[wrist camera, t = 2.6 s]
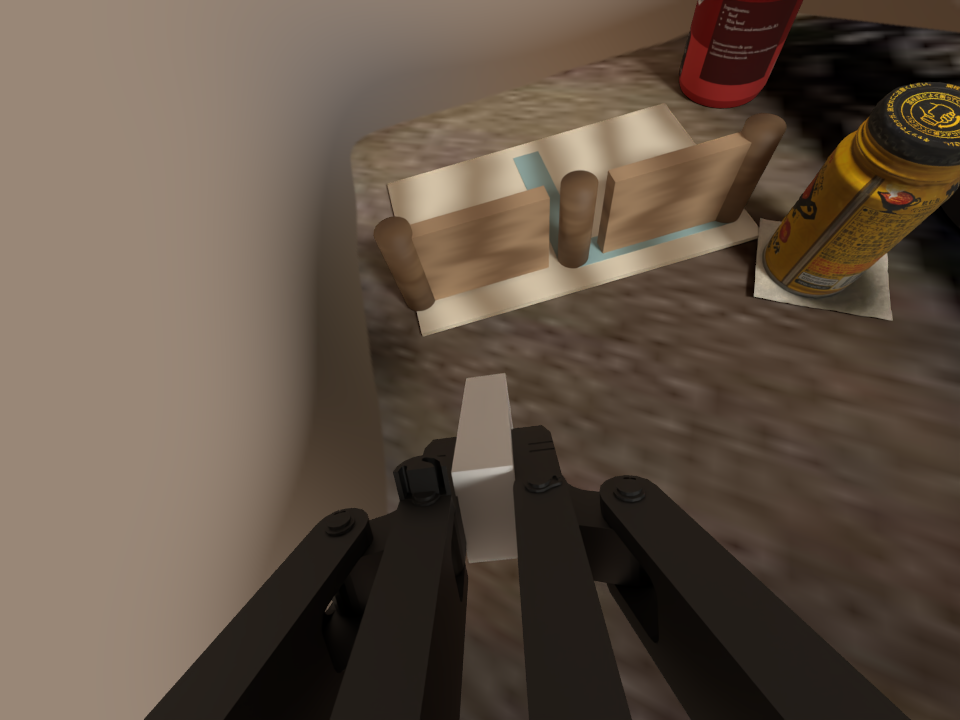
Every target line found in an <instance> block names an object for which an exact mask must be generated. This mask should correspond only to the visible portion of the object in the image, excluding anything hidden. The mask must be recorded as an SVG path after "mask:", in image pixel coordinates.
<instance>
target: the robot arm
mask: <svg viewBox="0 0 960 720" xmlns="http://www.w3.org/2000/svg"><path fill="white" fill-rule="evenodd" d="M941 207H942V208H943V210H944V211H945V213H946V214H947V216H948V217H949V218H950V219H951V220H952V221H953V222H954V223H955V224H956V225H957V226H958V227H959V228H960V184H959V187H958V189H957V190H956V191H955V192H954V194H953V195H952V196H951V197H950V198H949V199H948V200H947V201H945V202H944V203H943V204H942V205H941ZM393 474H394V478H395V482H396V486H397V490H398V495H399V499H400V502H399V505H398V508H397V510H396V511H394V512H392V513H389V514H387V515H384V516H381V517H378V518H375V519H372V520H369V518H368V514H367V513H366V512H365V511H364V510H362V509H357V508H349V509H342V510H340V511H339V510H338V511H336V512H334V513H332V514H330V515H328V516H326V517H325V518H324V519H322V520H321V521H320V522H319V523H318V524H317V525H316V526H315V527H314V528H313V529H312V530H311V531H310V533H309V534H308V535H307V536H306V537H305V538H304V539H303V541H302V542H301V543H300V544H299V545H298V546H297V547H296V548H295V549H294V551H293V552H292V553H291V554H290V555H289V556H288V558H287V559H286V560H285V561H284V562H283V563H282V564H281V565H280V566H279V568H278V569H277V570H276V571H275V572H274V573H273V574H272V575H271V577H270V578H269V579H268V580H267V581H266V582H265V583H264V584H263V586H262V587H261V588H260V589H259V590H258V591H257V592H256V594H255V595H254V596H253V597H252V598H251V599H250V600H249V601H248V602H247V604H246V605H245V606H244V607H243V608H242V609H241V610H240V612H239V613H238V614H237V615H236V616H235V617H234V618H233V619H232V621H231V622H230V623H229V624H228V625H227V626H226V627H225V628H224V630H223V631H222V632H221V633H220V634H219V635H218V636H217V638H216V639H215V640H214V641H213V642H212V643H211V644H210V645H209V647H208V648H207V649H206V650H205V651H204V652H203V653H202V654H201V656H200V657H199V658H198V659H197V660H196V661H195V662H194V663H193V665H192V666H191V667H190V668H189V669H188V670H187V671H186V672H185V674H184V675H183V676H182V677H181V678H180V679H179V680H178V682H177V683H176V684H175V685H174V686H173V687H172V688H171V689H170V691H169V692H168V693H167V694H166V695H165V696H164V697H163V698H162V700H161V701H160V702H159V703H158V704H157V705H156V706H155V707H154V709H153V710H152V711H151V712H150V713H149V714H148V715H147V716H146V718H145V719H144V720H459V718H460V702H461V686H462V670H463V654H464V638H465V623H466V607H467V591H468V575H467V570H466V565H465V557H466V551H467V556H468V561H469V563H474V562H484V561H494V560H504V559H513V558H518V568H519V582H520V596H521V610H522V625H523V639H524V653H525V667H526V682H527V696H528V710H529V720H632V719H631V715H630V711H629V708H628V704H627V700H626V697H625V693H624V689H623V686H622V682H621V678H620V675H619V671H618V667H617V664H616V660H615V656H614V653H613V649H612V646H611V642H610V638H609V635H608V631H607V627H606V624H605V620H604V616H603V613H602V609H601V605H600V602H599V598H598V594H597V591H596V587H595V583H594V581H599V582H605V583H607V586H608V588H609V591H610V593H611V594H612V596H613V598H614V599H615V601H616V602H617V604H618V605H619V607H620V609H621V610H622V612H623V613H624V615H625V616H626V618H627V620H628V621H629V623H630V624H631V626H632V628H633V629H634V631H635V632H636V634H637V635H638V637H639V639H640V640H641V642H642V643H643V645H644V646H645V648H646V650H647V651H648V653H649V654H650V656H651V657H652V659H653V661H654V662H655V664H656V665H657V667H658V669H659V670H660V672H661V673H662V675H663V676H664V678H665V680H666V681H667V683H668V684H669V686H670V687H671V689H672V691H673V692H674V694H675V695H676V697H677V698H678V700H679V702H680V703H681V705H682V706H683V708H684V710H685V711H686V713H687V714H688V716H689V717H690V719H691V720H911V719H909V718H908V717H907V716H906V715H905V714H904V713H903V712H902V711H901V710H900V709H899V708H898V707H896V706H895V705H894V704H893V703H892V702H891V701H890V700H889V699H888V698H887V697H886V696H884V695H883V694H882V693H881V692H880V691H879V690H878V689H877V688H876V687H875V686H874V685H873V684H871V683H870V682H869V681H868V680H867V679H866V678H865V677H864V676H863V675H862V674H861V673H860V672H858V671H857V670H856V669H855V668H854V667H853V666H852V665H851V664H850V663H849V662H848V661H846V660H845V659H844V658H843V657H842V656H841V655H840V654H839V653H838V652H837V651H836V650H835V649H833V648H832V647H831V646H830V645H829V644H828V643H827V642H826V641H825V640H824V639H823V638H822V637H820V636H819V635H818V634H817V633H816V632H815V631H814V630H813V629H812V628H811V627H810V626H808V625H807V624H806V623H805V622H804V621H803V620H802V619H801V618H800V617H799V616H798V615H797V614H795V613H794V612H793V611H792V610H791V609H790V608H789V607H788V606H787V605H786V604H785V603H784V602H782V601H781V600H780V599H779V598H778V597H777V596H776V595H775V594H774V593H773V592H772V591H771V590H769V589H768V588H767V587H766V586H765V585H764V584H763V583H762V582H761V581H760V580H759V579H757V578H756V577H755V576H754V575H753V574H752V573H751V572H750V571H749V570H748V569H747V568H746V567H744V566H743V565H742V564H741V563H740V562H739V561H738V560H737V559H736V558H735V557H734V556H733V555H731V554H730V553H729V552H728V551H727V550H726V549H725V548H724V547H723V546H722V545H721V544H719V543H718V542H717V541H716V540H715V539H714V538H713V537H712V536H711V535H710V534H709V533H708V532H706V531H705V530H704V529H703V528H702V527H701V526H700V525H699V524H698V523H697V522H696V521H695V520H693V519H692V518H691V517H690V516H689V515H688V514H687V513H686V512H685V511H684V510H683V509H681V508H680V507H679V506H678V505H677V504H676V503H675V502H674V501H673V500H672V499H671V498H670V497H668V496H667V495H666V494H665V493H664V492H663V491H662V490H661V489H660V488H659V487H658V486H657V485H655V484H654V483H652V482H651V481H649V480H648V479H644V478H641V477H638V476H629V475H624V476H617V477H613V478H611V479H608V480H606V481H605V482H604V483H603V484H602V485H601V487H600V491H599V492H595V491H587V490H581V489H578V488H575V487H573V486H571V485H570V484H568V483H567V481H566V480H565V478H564V477H563V475H562V474H561V470H560V466H559V462H558V459H557V455H556V451H555V447H554V444H553V440H552V436H551V433H550V431H549V430H547V429H546V428H545V427H543V426H542V425H540V426H531V427H523V428H515V429H513V425H512V418H511V411H510V404H509V397H508V390H507V383H506V375H505V373H503V374H495V375H488V376H480V377H473V378H466V383H465V390H464V396H463V402H462V408H461V415H460V421H459V427H458V433H457V437H452V438H444V439H436V440H433V441H432V442H431V443H430V444H429V445H428V446H427V447H426V448H425V450H424V453H423V455H422V456H417V457H413V458H411V459H408V460H406V461H404V462H402V463H401V464H400V465H398V466H397V467H396V469H395V470H394V471H393ZM331 600H332V601H333V603H332V604H331V606H330V607H329V609H328V610H327V611H326V612H325V610H326V608H327V606H328V604H329V603H330V601H331Z"/></svg>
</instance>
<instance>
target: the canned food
mask: <svg viewBox="0 0 960 720" xmlns="http://www.w3.org/2000/svg"><path fill="white" fill-rule="evenodd" d="M802 2H803V0H698V1H697V5H696V9H695V13H694V17H693V20H692V24H691V28H690V32H689V36H688V40H687V43H686V47H685V51H684V55H683V59H682V63H681V67H680V71H679V83H680V88H681V90H682V92H683V93H684V94H685V95H686V96H687V97H688V98H690V99H691V100H692V101H694V102H696V103H698V104H701V105H704V106H707V107H712V108H731V107H737V106H740V105H743V104H746V103H747V102H749V101H751V100H752V99H754V98H755V97H756V96H757V95H758V93H759V92H760V91H761V90H762V88H763V87H764V86H765V85H766V82H767V80H768V78H769V76H770V73H771V71H772V69H773V67H774V64H775V62H776V60H777V58H778V56H779V53H780V51H781V49H782V47H783V44H784V42H785V40H786V38H787V35H788V33H789V31H790V29H791V27H792V24H793V22H794V20H795V18H796V15H797V13H798V11H799V9H800V6H801V4H802Z"/></svg>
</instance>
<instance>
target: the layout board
mask: <svg viewBox="0 0 960 720" xmlns="http://www.w3.org/2000/svg"><path fill="white" fill-rule="evenodd" d="M693 145H696V144H695V143H694V141H693V140H692V139H691V137H690V136H689V135H688V133H687V132H686V131H685V129H684V128H683V127H682V125H681V124H680V123H679V121H678V120H677V119H676V117H675V116H674V115H673V114H672V112H671V111H670V110H669V108H668V107H667V106H666V104H665V103H663V104H660V105H656V106H653V107H649V108H646V109H643V110H639V111H636V112H632V113H629V114H625V115H622V116H619V117H615V118H612V119H608V120H605V121H601V122H598V123H595V124H591V125H588V126H584V127H581V128H577V129H574V130H571V131H567V132H564V133H560V134H557V135H553V136H550V137H547V138H543V139H540V140H536V141H533V142H529V143H526V144H523V145H519V146H516V147H512V148H509V149H505V150H502V151H498V152H495V153H492V154H488V155H485V156H481V157H478V158H474V159H471V160H468V161H464V162H461V163H457V164H454V165H450V166H447V167H444V168H440V169H437V170H433V171H430V172H426V173H423V174H420V175H416V176H413V177H409V178H406V179H402V180H399V181H396V182H392V183H389V184H387V185H388V190H389V194H390V198H391V203H392V207H393V211H394V216H397V217H402V218H404V219H406V220H407V221H408V222H409V224H414V223H417V222H421V221H424V220H427V219H431V218H434V217H438V216H441V215H445V214H448V213H451V212H455V211H458V210H462V209H465V208H468V207H472V206H475V205H479V204H482V203H486V202H489V201H492V200H496V199H499V198H503V197H506V196H510V195H513V194H516V193H520V192H523V191H527V190H530V189H534V188H537V187H540V186H544V187H545V189H546V191H547V193H548V196H549V198H550V215H549V267H548V268H545V269H542V270H538V271H535V272H531V273H528V274H524V275H521V276H518V277H514V278H511V279H507V280H504V281H501V282H497V283H494V284H490V285H487V286H483V287H480V288H477V289H473V290H470V291H466V292H463V293H460V294H456V295H453V296H449V297H446V298H442V299H439V300H436V301H435V302H434V304H433V305H432V306H431V307H430V308H428V309H427V310H424V311H417V315H418V319H419V324H420V328H421V332H422V335H423V336H427V335H430V334H434V333H437V332H440V331H444V330H447V329H451V328H454V327H457V326H461V325H464V324H468V323H471V322H474V321H478V320H481V319H485V318H488V317H492V316H495V315H498V314H502V313H505V312H509V311H512V310H515V309H519V308H522V307H526V306H529V305H533V304H536V303H539V302H543V301H546V300H550V299H553V298H556V297H560V296H563V295H567V294H570V293H574V292H577V291H580V290H584V289H587V288H591V287H594V286H597V285H601V284H604V283H608V282H611V281H615V280H618V279H621V278H625V277H628V276H632V275H635V274H638V273H642V272H645V271H649V270H652V269H656V268H659V267H662V266H666V265H669V264H673V263H676V262H679V261H683V260H686V259H690V258H693V257H697V256H700V255H703V254H707V253H710V252H714V251H717V250H720V249H724V248H727V247H731V246H734V245H738V244H741V243H744V242H748V241H751V240H755V239H758V237H759V227H758V225H757V224H756V223H755V221H754V220H753V219H752V218H751V216H750V215H749V214H748V212H747V211H746V210H745V208H744V209H743V211H742V213H741V215H740V217H739V218H738V220H736V221H735V222H731V223H720V222H717V221H712V222H709V223H705V224H702V225H699V226H695V227H692V228H688V229H685V230H682V231H678V232H675V233H671V234H668V235H664V236H661V237H658V238H654V239H651V240H647V241H644V242H640V243H637V244H634V245H630V246H627V247H623V248H620V249H617V250H613V251H610V252H606V253H602V251H601V249H600V247H599V245H598V243H597V239H598V233H599V226H600V220H601V213H602V207H603V201H604V194H605V188H606V181H607V175H608V170H611V169H615V168H618V167H621V166H625V165H628V164H632V163H635V162H639V161H642V160H645V159H649V158H652V157H656V156H659V155H663V154H666V153H669V152H673V151H676V150H680V149H683V148H687V147H690V146H693ZM577 170H584V171H588V172H591V173H593V174H594V175H595V176H596V177H597V179H598V182H599V184H598V192H597V199H596V206H595V214H594V221H593V228H592V236H591V243H590V250H589V258H588V260H587V262H586V263H585V264H584V265H582V266H580V267H578V268H567V267H564V266H563V265H561V264H560V262H559V261H558V234H559V209H560V185H561V180H562V178H563V177H564V176H565V175H566V174H568V173H570V172H572V171H577Z"/></svg>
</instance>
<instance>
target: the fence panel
mask: <svg viewBox="0 0 960 720" xmlns="http://www.w3.org/2000/svg"><path fill="white" fill-rule="evenodd" d="M549 215H550V198H549V196H548V193H547V191H546V189H545V187H544V186H540V187H537V188H534V189H530V190H527V191H523V192H520V193H516V194H513V195H510V196H506V197H503V198H499V199H496V200H492V201H489V202H486V203H482V204H479V205H475V206H472V207H468V208H465V209H462V210H458V211H455V212H451V213H448V214H445V215H441V216H438V217H434V218H431V219H427V220H424V221H421V222H417V223H414V224H409V222H408V221H407V220H406V219H404V218H402V217H397V216H395V217H389V218H386V219H384V220H382V221H381V222H380V223H379V224H378V225H377V226H376V227H375V229H374V238H375V241H376V243H377V245H378V247H379V249H380V251H381V253H382V255H383V257H384V259H385V261H386V263H387V265H388V267H389V269H390V271H391V273H392V275H393V277H394V279H395V281H396V283H397V285H398V287H399V289H400V291H401V293H402V296H403V298H404V300H405V302H406V304H407V306H408V307H409V308H410V309H412V310H414V311H424V310H427V309H428V308H430V307H431V306H432V305H433V304H434V302H435V301H436V300H439V299H442V298H446V297H449V296H453V295H456V294H460V293H463V292H466V291H470V290H473V289H477V288H480V287H483V286H487V285H490V284H494V283H497V282H501V281H504V280H507V279H511V278H514V277H518V276H521V275H524V274H528V273H531V272H535V271H538V270H542V269H545V268H548V267H549Z"/></svg>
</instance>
